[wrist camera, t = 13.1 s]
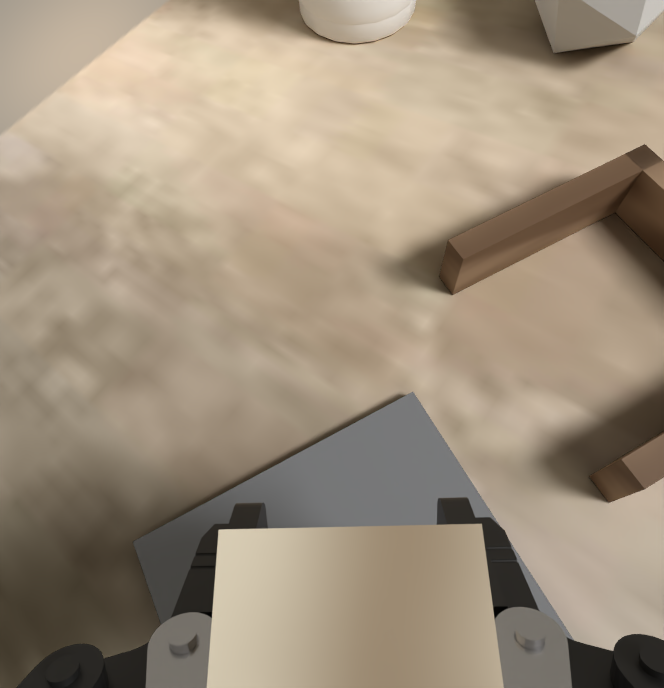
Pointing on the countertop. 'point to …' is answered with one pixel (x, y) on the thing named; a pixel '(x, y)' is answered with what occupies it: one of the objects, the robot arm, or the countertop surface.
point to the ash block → (353, 608)
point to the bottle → (356, 18)
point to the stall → (556, 224)
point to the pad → (332, 494)
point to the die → (595, 21)
